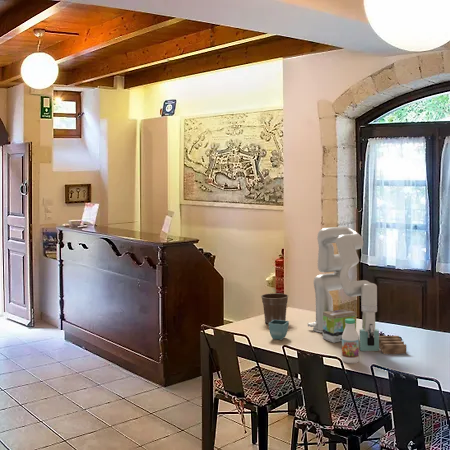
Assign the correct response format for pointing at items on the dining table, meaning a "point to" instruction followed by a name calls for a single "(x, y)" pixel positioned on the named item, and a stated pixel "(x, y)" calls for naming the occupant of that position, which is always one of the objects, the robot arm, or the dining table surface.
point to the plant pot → (274, 306)
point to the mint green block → (364, 341)
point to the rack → (391, 345)
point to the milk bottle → (350, 342)
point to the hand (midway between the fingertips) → (369, 342)
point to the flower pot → (278, 329)
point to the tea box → (336, 324)
